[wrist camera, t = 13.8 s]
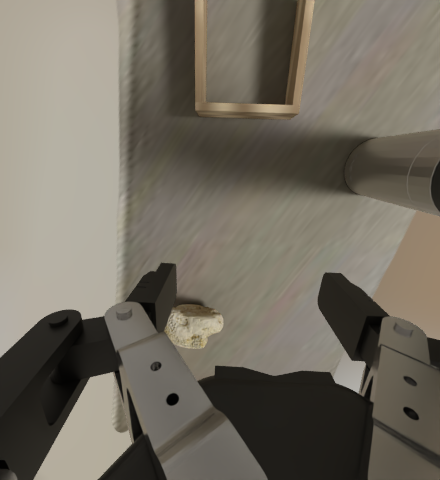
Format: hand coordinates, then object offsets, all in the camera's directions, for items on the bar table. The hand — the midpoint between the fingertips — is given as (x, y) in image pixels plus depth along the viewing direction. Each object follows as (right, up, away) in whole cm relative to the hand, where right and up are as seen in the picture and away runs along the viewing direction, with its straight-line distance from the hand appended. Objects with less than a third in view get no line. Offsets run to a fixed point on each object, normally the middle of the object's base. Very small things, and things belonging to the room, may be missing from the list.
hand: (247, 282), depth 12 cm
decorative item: (-7, -12, +37) cm, 39 cm away
